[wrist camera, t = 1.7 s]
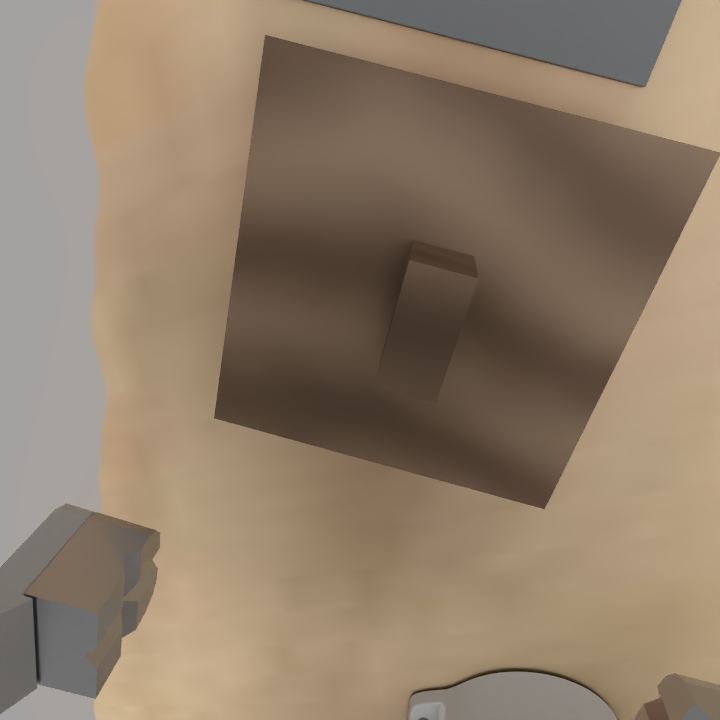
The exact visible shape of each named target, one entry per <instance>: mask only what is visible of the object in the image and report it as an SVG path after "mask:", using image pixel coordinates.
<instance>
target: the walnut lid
mask: <svg viewBox="0 0 720 720" xmlns="http://www.w3.org/2000/svg"><path fill="white" fill-rule="evenodd" d="M719 156H720V152H716V151H712V150H708V149H704V148H700V147H696V146H693V145H689V144H685V143H681V142H677V141H673V140H669V139H665V138H662V137H658V136H654V135H650V134H646V133H642V132H638V131H635V130H631V129H627V128H623V127H619V126H615V125H611V124H607V123H604V122H600V121H596V120H592V119H588V118H584V117H580V116H577V115H573V114H569V113H565V112H561V111H557V110H553V109H549V108H546V107H542V106H538V105H534V104H530V103H526V102H522V101H518V100H515V99H511V98H507V97H503V96H499V95H495V94H491V93H488V92H484V91H480V90H476V89H472V88H468V87H464V86H460V85H457V84H453V83H449V82H445V81H441V80H437V79H433V78H429V77H426V76H422V75H418V74H414V73H410V72H406V71H402V70H399V69H395V68H391V67H387V66H383V65H379V64H375V63H371V62H368V61H364V60H360V59H356V58H352V57H348V56H344V55H340V54H337V53H333V52H329V51H325V50H321V49H317V48H313V47H310V46H306V45H302V44H298V43H294V42H290V41H286V40H282V39H279V38H275V37H271V36H267V35H265V40H264V48H263V55H262V63H261V70H260V78H259V85H258V93H257V101H256V108H255V116H254V123H253V131H252V138H251V146H250V153H249V161H248V168H247V176H246V183H245V191H244V198H243V206H242V213H241V221H240V228H239V236H238V243H237V251H236V258H235V266H234V273H233V281H232V288H231V296H230V303H229V311H228V318H227V326H226V333H225V341H224V348H223V356H222V363H221V371H220V378H219V386H218V393H217V401H216V408H215V416H214V418H215V419H219V420H223V421H226V422H230V423H234V424H237V425H241V426H245V427H248V428H252V429H255V430H259V431H263V432H266V433H270V434H274V435H277V436H281V437H284V438H288V439H292V440H295V441H299V442H303V443H306V444H310V445H314V446H317V447H321V448H324V449H328V450H332V451H335V452H339V453H343V454H346V455H350V456H354V457H357V458H361V459H364V460H368V461H372V462H375V463H379V464H383V465H386V466H390V467H393V468H397V469H401V470H404V471H408V472H412V473H415V474H419V475H423V476H426V477H430V478H433V479H437V480H441V481H444V482H448V483H452V484H455V485H459V486H462V487H466V488H470V489H473V490H477V491H481V492H484V493H488V494H492V495H495V496H499V497H502V498H506V499H510V500H513V501H517V502H521V503H524V504H528V505H532V506H535V507H539V508H542V509H545V507H546V505H547V503H548V501H549V499H550V497H551V495H552V493H553V491H554V489H555V487H556V485H557V483H558V481H559V479H560V477H561V475H562V473H563V471H564V469H565V467H566V465H567V463H568V461H569V459H570V457H571V454H572V452H573V450H574V448H575V446H576V444H577V442H578V440H579V438H580V436H581V434H582V432H583V430H584V428H585V426H586V424H587V422H588V420H589V418H590V416H591V414H592V412H593V410H594V408H595V406H596V404H597V402H598V400H599V398H600V396H601V394H602V392H603V390H604V388H605V386H606V384H607V382H608V380H609V378H610V376H611V374H612V372H613V370H614V368H615V366H616V364H617V362H618V360H619V358H620V356H621V354H622V352H623V350H624V348H625V346H626V343H627V341H628V339H629V337H630V335H631V333H632V331H633V329H634V327H635V325H636V323H637V321H638V319H639V317H640V315H641V313H642V311H643V309H644V307H645V305H646V303H647V301H648V299H649V297H650V295H651V293H652V291H653V289H654V287H655V285H656V283H657V281H658V279H659V277H660V275H661V273H662V271H663V269H664V267H665V265H666V263H667V261H668V259H669V257H670V255H671V253H672V251H673V249H674V247H675V245H676V243H677V241H678V239H679V237H680V235H681V232H682V230H683V228H684V226H685V224H686V222H687V220H688V218H689V216H690V214H691V212H692V210H693V208H694V206H695V204H696V202H697V200H698V198H699V196H700V194H701V192H702V190H703V188H704V186H705V184H706V182H707V180H708V178H709V176H710V174H711V172H712V170H713V168H714V166H715V164H716V162H717V160H718V158H719Z"/></svg>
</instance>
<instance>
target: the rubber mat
mask: <svg viewBox="0 0 720 720" xmlns="http://www.w3.org/2000/svg"><path fill="white" fill-rule="evenodd" d="M305 1H309V2H312V3H316V4H320V5H324V6H328V7H332V8H336V9H340V10H344V11H348V12H351V13H355V14H359V15H363V16H367V17H371V18H375V19H379V20H383V21H386V22H390V23H394V24H398V25H402V26H406V27H410V28H414V29H418V30H422V31H425V32H429V33H433V34H437V35H441V36H445V37H449V38H453V39H457V40H461V41H464V42H468V43H472V44H476V45H480V46H484V47H488V48H492V49H496V50H500V51H503V52H507V53H511V54H515V55H519V56H523V57H527V58H531V59H535V60H538V61H542V62H546V63H550V64H554V65H558V66H562V67H566V68H570V69H574V70H577V71H581V72H585V73H589V74H593V75H597V76H601V77H605V78H609V79H613V80H616V81H620V82H624V83H628V84H632V85H636V86H640V87H646V84H647V82H648V80H649V77H650V75H651V72H652V70H653V68H654V65H655V63H656V60H657V58H658V56H659V53H660V51H661V48H662V46H663V44H664V41H665V39H666V36H667V34H668V32H669V29H670V27H671V24H672V22H673V20H674V17H675V15H676V12H677V10H678V8H679V5H680V3H681V0H305Z"/></svg>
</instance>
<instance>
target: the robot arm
mask: <svg viewBox="0 0 720 720" xmlns="http://www.w3.org/2000/svg"><path fill="white" fill-rule="evenodd" d="M159 548H160V532H158V531H156V530H153V529H150V528H147V527H143V526H140V525H137V524H134V523H130V522H127V521H124V520H121V519H117V518H114V517H111V516H108V515H104V514H101V513H97V512H93V511H90V510H86V509H83V508H80V507H76V506H73V505H70V504H65V505H63V506H61V507H59V508H57V509H56V510H54V511H53V512H52V513H51V515H50V516H49V517H48V518H47V519H46V520H45V521H44V522H43V523H42V524H41V525H40V526H39V527H38V528H37V529H36V530H35V531H34V533H33V534H32V535H31V536H30V537H29V538H28V539H27V540H26V541H25V542H24V543H23V544H22V545H21V546H20V547H19V549H17V551H16V552H15V553H14V554H13V555H12V556H11V557H10V558H9V559H8V560H7V561H6V562H5V563H4V564H3V565H2V566H1V567H0V714H1V713H3V712H4V711H5V710H7V709H8V708H10V707H11V706H13V705H14V704H15V703H17V702H18V701H20V700H21V699H22V698H24V697H25V696H27V695H28V694H29V693H31V692H32V691H34V690H35V689H36V688H37V684H39V685H43V686H47V687H51V688H55V689H59V690H63V691H67V692H71V693H75V694H79V695H83V696H87V697H91V698H95V699H96V697H97V696H98V694H99V692H100V690H101V689H102V687H103V685H104V684H105V682H106V680H107V678H108V677H109V675H110V673H111V672H112V670H113V668H114V666H115V665H116V663H117V661H118V660H119V658H120V656H121V641H122V637H124V636H126V635H127V634H129V633H131V632H133V631H134V630H136V628H137V626H138V625H139V623H140V621H141V619H142V617H143V616H144V614H145V612H146V609H147V607H148V605H149V602H150V600H151V597H152V595H153V591H154V587H155V584H156V579H157V570H158V568H157V567H156V565H155V564H154V562H153V561H152V560H153V558H154V556H155V555H156V553H157V551H158V550H159ZM657 687H658V691H659V695H660V698H659V699H656V700H654V701H651V702H648V703H646V704H644V705H643V706H642V708H641V709H640V711H639V712H638V714H637V715H636V717H635V720H720V685H717V684H713V683H709V682H706V681H702V680H698V679H694V678H690V677H687V676H683V675H679V674H675V673H674V674H671V675H669V676H666V677H665V678H664V679H663V680H662V681H661V683H660V684H659V685H658V686H657ZM407 720H617V718H616V716H615V714H614V713H613V711H612V710H611V709H610V707H609V706H608V705H607V704H606V703H605V702H604V701H603V700H602V699H601V698H600V697H598V696H597V695H596V694H594V693H593V692H591V691H590V690H588V689H586V688H584V687H582V686H580V685H578V684H576V683H574V682H571V681H568V680H566V679H562V678H559V677H555V676H551V675H546V674H541V673H533V672H501V673H494V674H488V675H484V676H480V677H477V678H474V679H471V680H468V681H466V682H464V683H462V684H459V685H457V686H455V687H452V688H449V689H443V690H433V691H425V692H420V693H416V694H414V695H413V696H412V697H411V698H410V701H409V710H408V719H407Z"/></svg>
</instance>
